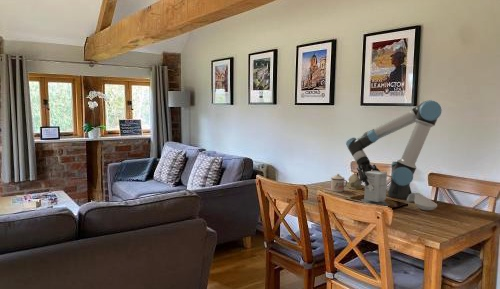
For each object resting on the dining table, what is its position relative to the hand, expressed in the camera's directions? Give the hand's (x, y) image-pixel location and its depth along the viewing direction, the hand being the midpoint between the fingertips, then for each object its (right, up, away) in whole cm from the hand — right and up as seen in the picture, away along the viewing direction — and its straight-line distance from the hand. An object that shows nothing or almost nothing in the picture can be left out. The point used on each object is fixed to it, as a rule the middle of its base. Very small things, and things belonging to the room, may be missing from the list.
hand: (379, 188), depth 226 cm
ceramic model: (-1, -5, +51) cm, 51 cm away
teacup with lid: (-15, -6, +39) cm, 42 cm away
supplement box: (-1, -7, +3) cm, 8 cm away
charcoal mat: (-1, -9, +4) cm, 10 cm away
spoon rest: (+24, -11, -1) cm, 26 cm away
